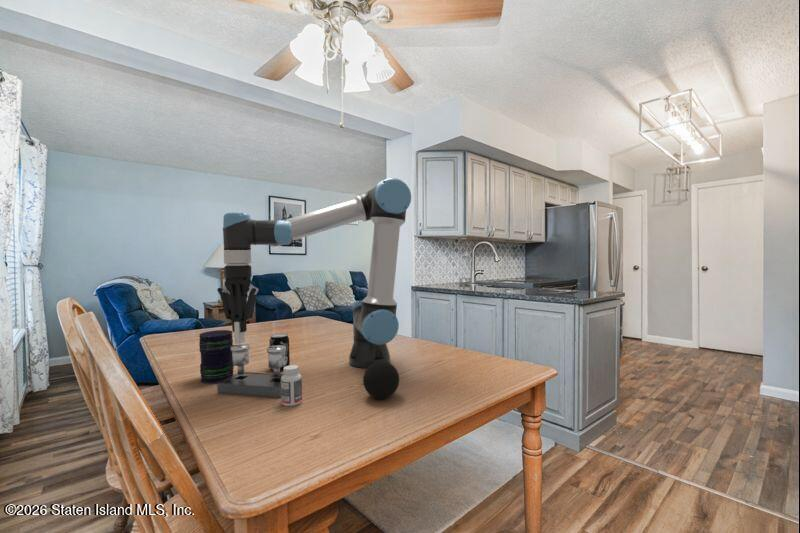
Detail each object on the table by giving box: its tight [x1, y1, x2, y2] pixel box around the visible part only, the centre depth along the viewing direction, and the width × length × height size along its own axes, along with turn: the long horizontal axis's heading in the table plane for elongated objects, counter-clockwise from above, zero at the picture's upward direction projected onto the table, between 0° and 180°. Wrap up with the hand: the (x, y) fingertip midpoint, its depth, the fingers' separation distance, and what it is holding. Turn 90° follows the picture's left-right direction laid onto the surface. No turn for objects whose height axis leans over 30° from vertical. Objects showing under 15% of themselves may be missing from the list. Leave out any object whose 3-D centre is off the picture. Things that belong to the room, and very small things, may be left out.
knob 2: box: [266, 345, 286, 377], centre depth 112 cm, size 5×5×9 cm
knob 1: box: [231, 343, 251, 375], centre depth 114 cm, size 5×5×9 cm
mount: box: [216, 370, 284, 399], centre depth 113 cm, size 20×11×3 cm, turn 78°
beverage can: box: [269, 332, 291, 372], centre depth 132 cm, size 7×7×12 cm
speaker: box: [362, 361, 400, 400], centre depth 105 cm, size 10×10×10 cm
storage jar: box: [198, 329, 235, 384], centre depth 123 cm, size 10×10×15 cm
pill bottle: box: [281, 364, 303, 407], centre depth 102 cm, size 5×5×10 cm
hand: (239, 342), depth 114 cm, fingers closed
